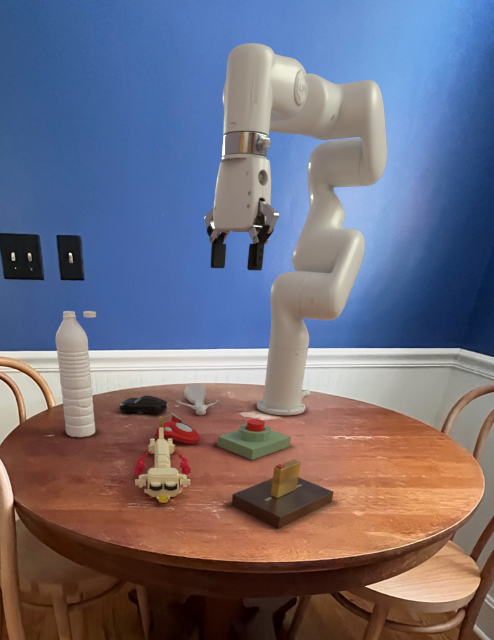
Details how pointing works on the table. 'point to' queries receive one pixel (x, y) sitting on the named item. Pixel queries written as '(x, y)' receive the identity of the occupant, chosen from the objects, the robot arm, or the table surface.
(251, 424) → the button
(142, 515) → the table surface
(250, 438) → the green button base
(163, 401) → the toy car
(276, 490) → the lock knob
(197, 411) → the woman figurine
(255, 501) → the lock plate
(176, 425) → the tracker holder
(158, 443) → the blocky toy figure
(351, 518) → the table surface
